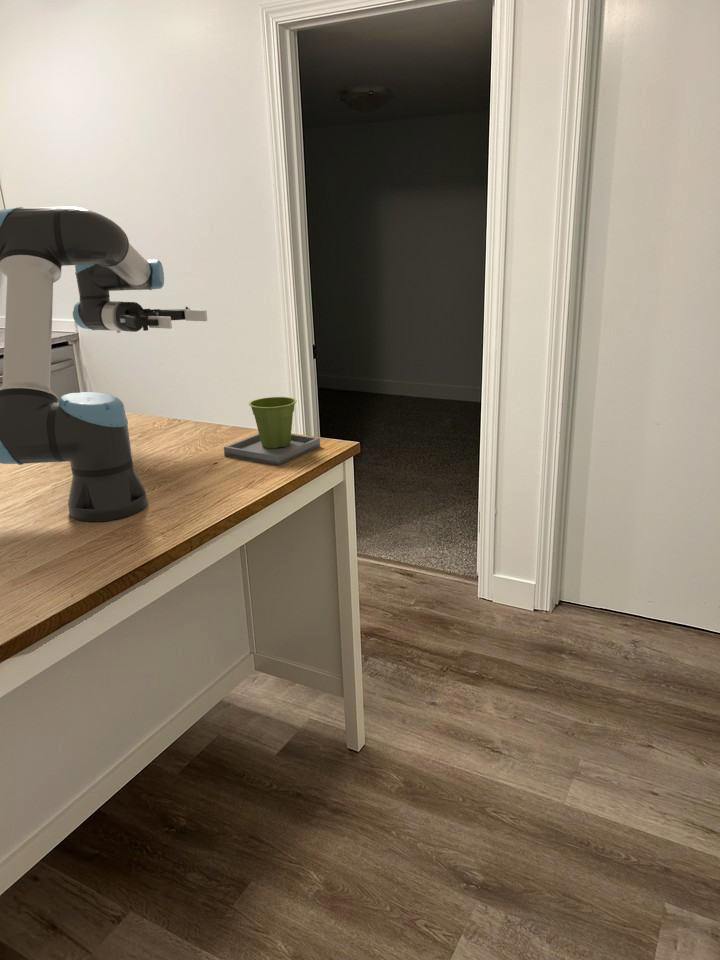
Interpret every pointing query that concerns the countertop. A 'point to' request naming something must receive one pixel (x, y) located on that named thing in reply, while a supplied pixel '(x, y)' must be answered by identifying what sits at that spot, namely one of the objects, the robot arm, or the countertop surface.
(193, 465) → the countertop surface
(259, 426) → the plant pot
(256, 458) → the tray
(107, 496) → the robot arm
